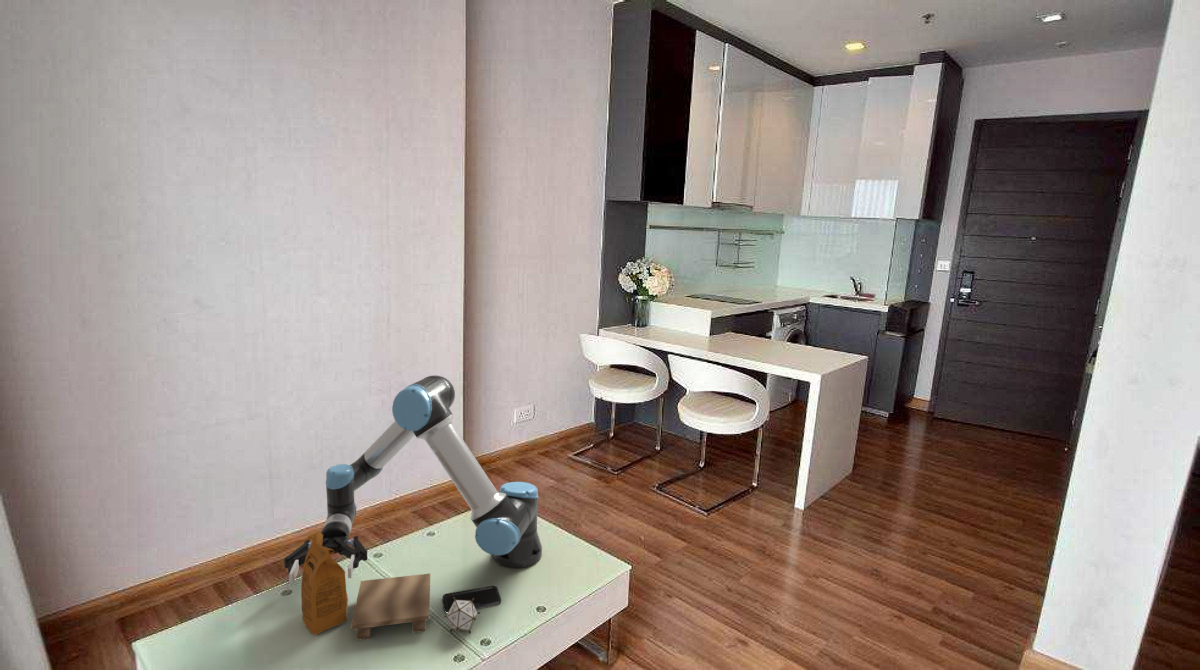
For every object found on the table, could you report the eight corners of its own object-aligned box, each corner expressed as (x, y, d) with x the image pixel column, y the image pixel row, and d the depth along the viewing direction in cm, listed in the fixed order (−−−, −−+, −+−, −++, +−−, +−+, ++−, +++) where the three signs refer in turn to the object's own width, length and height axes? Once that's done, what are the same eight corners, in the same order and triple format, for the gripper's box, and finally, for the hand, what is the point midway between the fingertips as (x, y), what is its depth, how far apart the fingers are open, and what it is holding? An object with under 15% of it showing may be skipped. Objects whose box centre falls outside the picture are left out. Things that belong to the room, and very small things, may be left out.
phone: (442, 594, 160) (496, 584, 165) (442, 597, 160) (496, 588, 166) (445, 612, 153) (501, 601, 158) (445, 616, 153) (501, 605, 158)
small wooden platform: (430, 589, 163) (430, 573, 162) (429, 633, 146) (429, 615, 145) (361, 597, 158) (360, 580, 157) (351, 643, 141) (351, 625, 140)
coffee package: (339, 598, 157) (335, 523, 153) (351, 624, 148) (348, 545, 144) (298, 612, 151) (293, 534, 147) (308, 640, 142) (304, 557, 138)
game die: (463, 647, 147) (456, 635, 140) (440, 624, 150) (433, 611, 143) (489, 617, 152) (484, 605, 144) (466, 596, 155) (460, 582, 148)
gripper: (382, 540, 171) (373, 584, 151) (288, 549, 165) (266, 595, 145) (381, 517, 170) (372, 557, 150) (287, 524, 163) (264, 568, 143)
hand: (320, 576), depth 147 cm, fingers open, 13 cm apart
